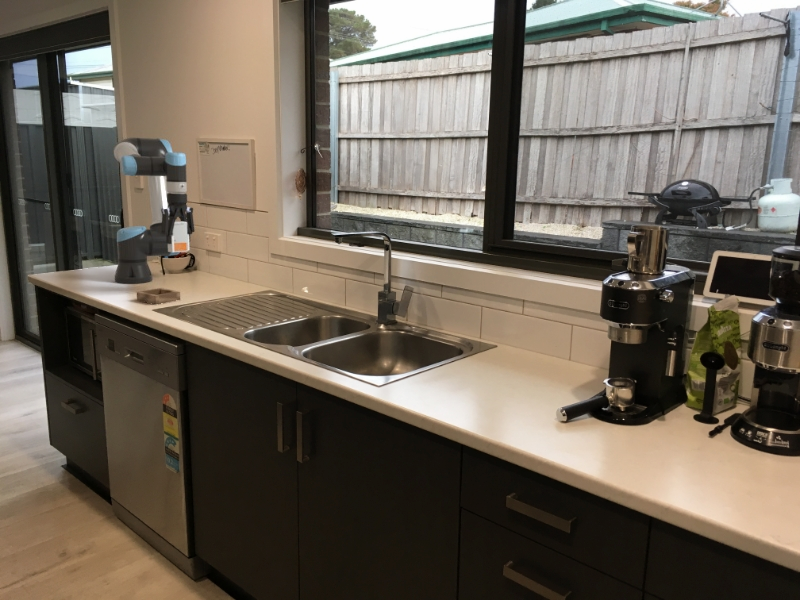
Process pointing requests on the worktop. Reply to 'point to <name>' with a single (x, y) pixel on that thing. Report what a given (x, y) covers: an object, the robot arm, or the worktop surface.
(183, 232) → the skincare box
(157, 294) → the rectangular wooden frame
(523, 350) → the worktop surface
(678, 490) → the worktop surface
